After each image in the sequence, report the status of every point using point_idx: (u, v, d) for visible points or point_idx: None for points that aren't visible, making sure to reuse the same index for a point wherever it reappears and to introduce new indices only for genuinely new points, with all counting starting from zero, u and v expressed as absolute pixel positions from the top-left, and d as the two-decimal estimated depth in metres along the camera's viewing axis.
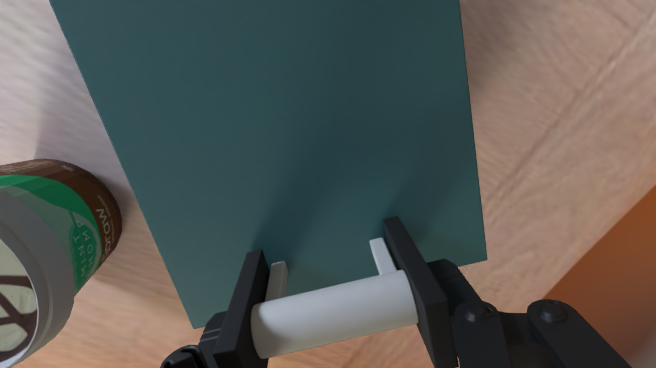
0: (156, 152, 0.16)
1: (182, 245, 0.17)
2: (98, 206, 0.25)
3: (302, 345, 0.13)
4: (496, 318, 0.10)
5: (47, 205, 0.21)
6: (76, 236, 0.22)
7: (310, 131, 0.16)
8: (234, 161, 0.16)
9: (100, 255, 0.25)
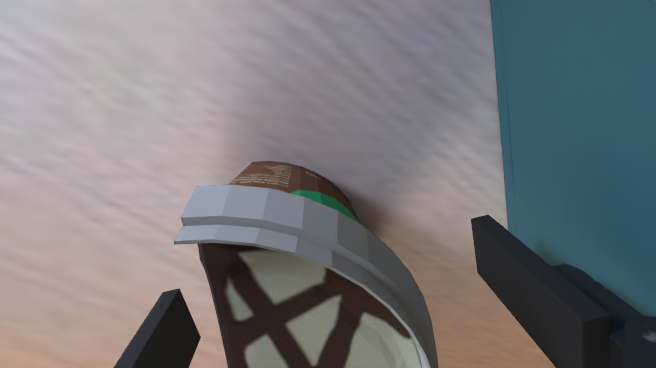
0: None
1: None
2: None
3: None
4: None
5: None
6: None
7: None
8: None
9: None
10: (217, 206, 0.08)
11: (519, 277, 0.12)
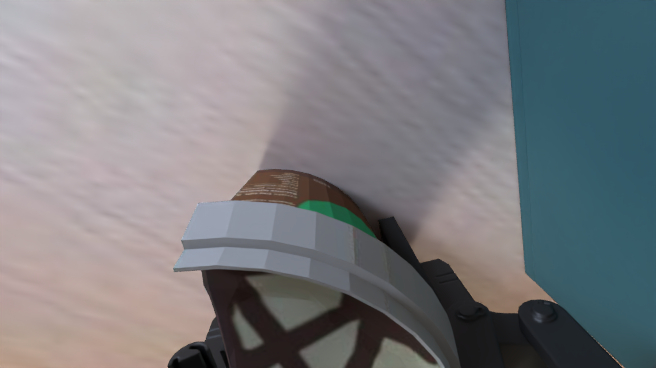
0: None
1: None
2: None
3: None
4: (487, 318, 0.10)
5: None
6: None
7: None
8: None
9: None
10: (221, 226, 0.08)
11: None
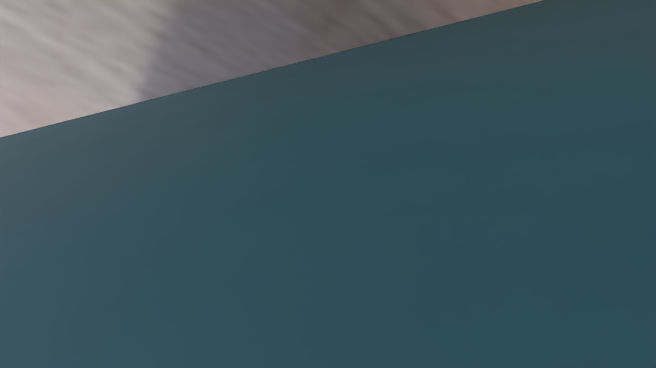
0: None
1: None
2: None
3: None
4: None
5: None
6: None
7: None
8: None
9: None
10: None
11: None
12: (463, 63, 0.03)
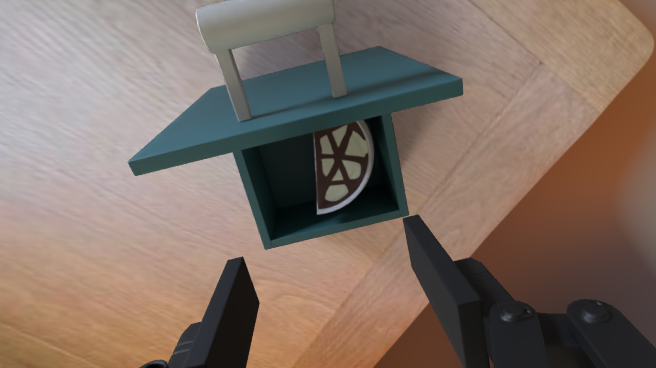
0: (208, 105, 0.25)
1: (181, 125, 0.21)
2: None
3: None
4: (534, 320, 0.10)
5: None
6: None
7: (303, 83, 0.24)
8: (250, 98, 0.24)
9: None
10: None
11: (428, 269, 0.14)
12: None
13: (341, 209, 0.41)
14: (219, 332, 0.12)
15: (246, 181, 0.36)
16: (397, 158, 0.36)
